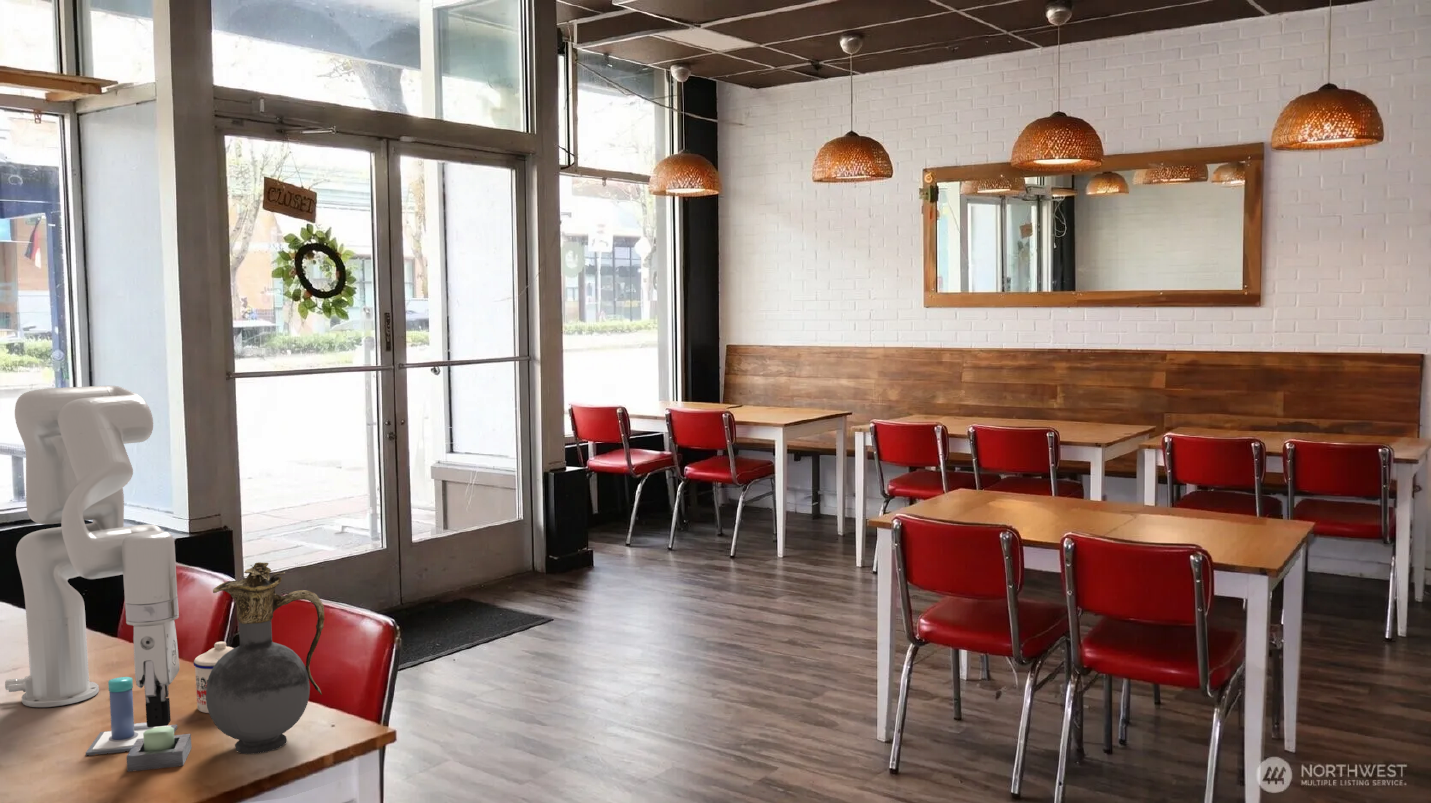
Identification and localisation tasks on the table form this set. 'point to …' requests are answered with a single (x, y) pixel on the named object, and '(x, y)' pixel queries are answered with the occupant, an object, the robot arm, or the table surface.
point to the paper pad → (109, 745)
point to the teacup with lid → (207, 671)
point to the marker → (121, 708)
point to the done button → (159, 739)
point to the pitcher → (260, 668)
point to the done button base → (159, 755)
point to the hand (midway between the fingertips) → (158, 724)
